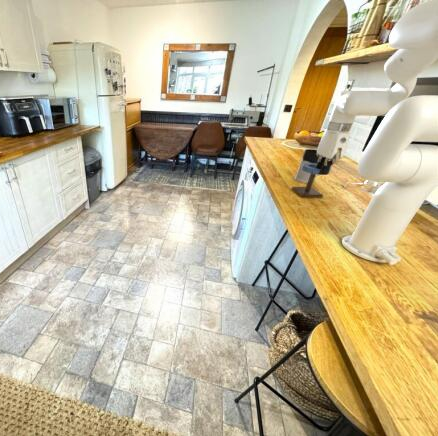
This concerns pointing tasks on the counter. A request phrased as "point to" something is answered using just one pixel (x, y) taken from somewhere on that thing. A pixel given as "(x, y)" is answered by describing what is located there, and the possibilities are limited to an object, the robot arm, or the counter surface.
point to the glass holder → (307, 157)
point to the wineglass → (367, 185)
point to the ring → (311, 168)
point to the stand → (308, 189)
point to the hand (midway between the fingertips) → (320, 173)
